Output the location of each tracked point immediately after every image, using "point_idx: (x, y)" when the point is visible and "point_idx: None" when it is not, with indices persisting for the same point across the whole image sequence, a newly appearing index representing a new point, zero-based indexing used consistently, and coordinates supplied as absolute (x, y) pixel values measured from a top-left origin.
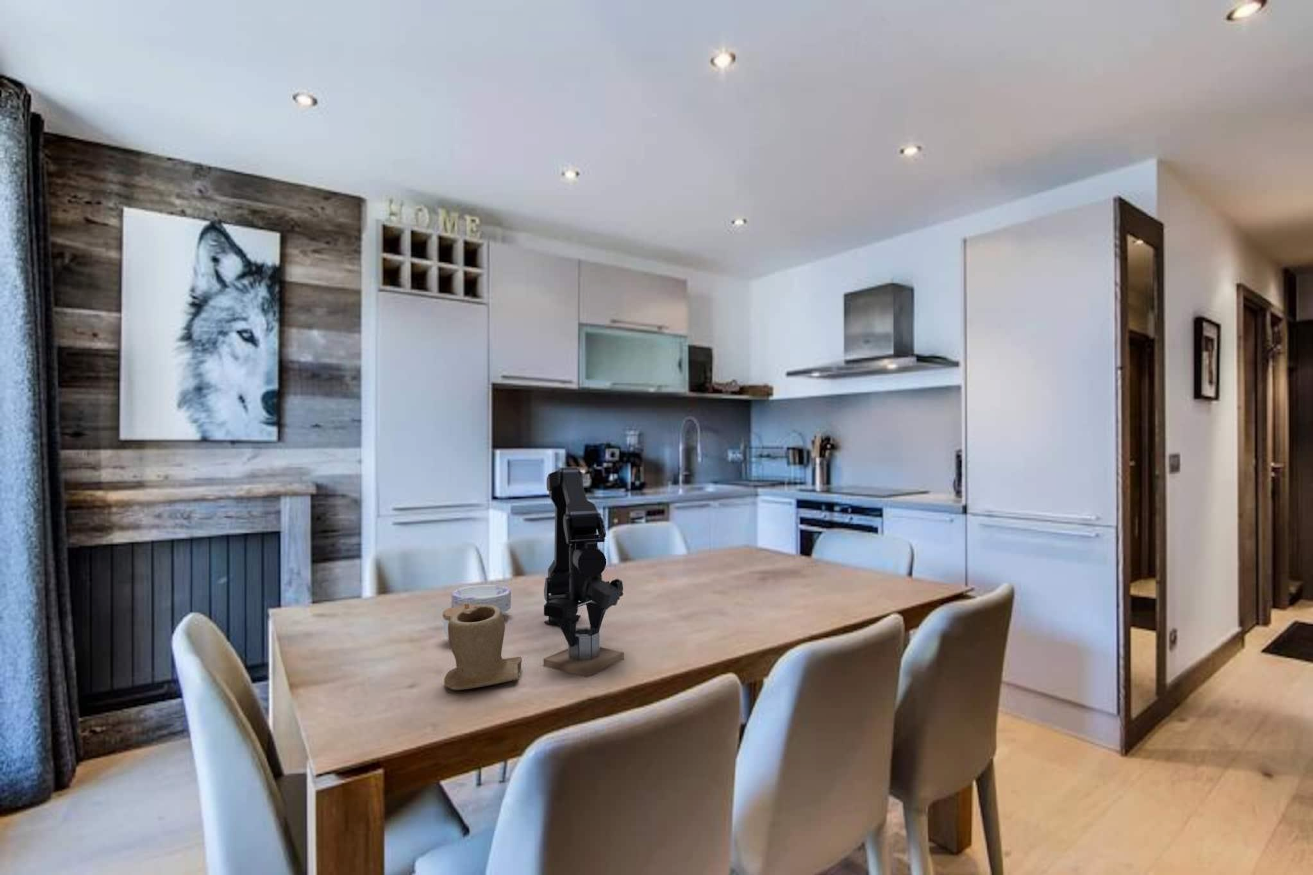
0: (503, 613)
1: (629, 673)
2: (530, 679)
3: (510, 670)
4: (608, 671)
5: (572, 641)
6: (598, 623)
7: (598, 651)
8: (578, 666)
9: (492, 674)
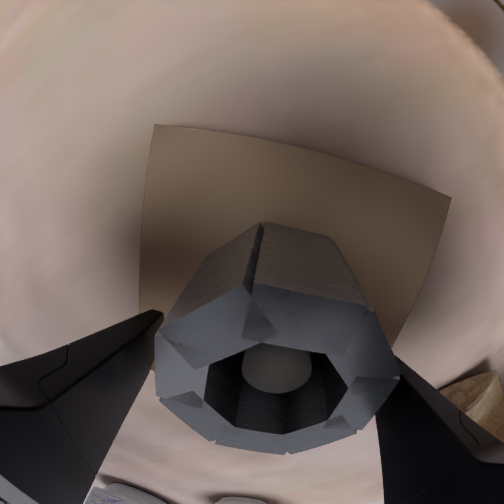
0: (113, 487)
1: (338, 30)
2: (452, 360)
3: (489, 398)
4: (352, 125)
5: (414, 375)
6: (115, 357)
7: (270, 231)
8: (426, 258)
9: (501, 406)
